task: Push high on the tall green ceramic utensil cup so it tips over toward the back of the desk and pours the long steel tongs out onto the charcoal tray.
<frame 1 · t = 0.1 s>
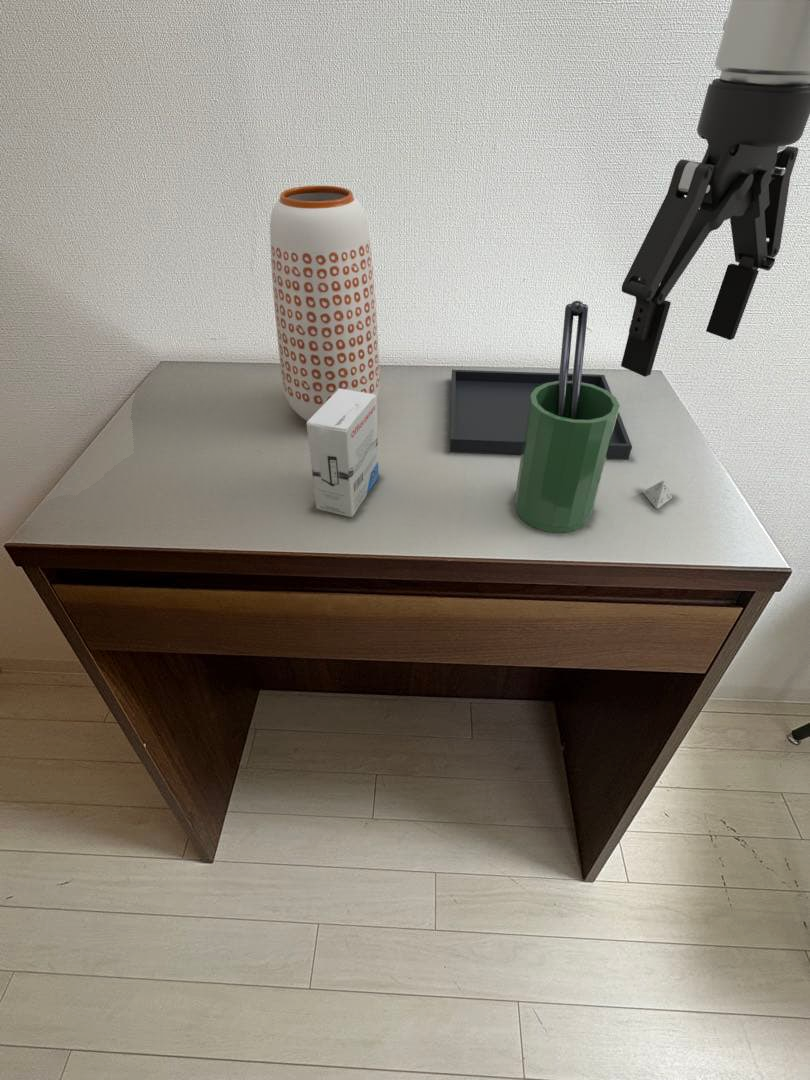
hand: (679, 352, 59), 19 cm above the table, tool pointing down, fingers open, 13 cm apart
tray: (531, 416, 88), on the table
cup: (552, 508, 72), on the table, touching tongs
ink box: (348, 495, 74), on the table
tetrahedral die: (656, 503, 73), on the table
vase: (334, 414, 89), on the table
tongs: (566, 417, 66), point 11 cm above the table, touching cup
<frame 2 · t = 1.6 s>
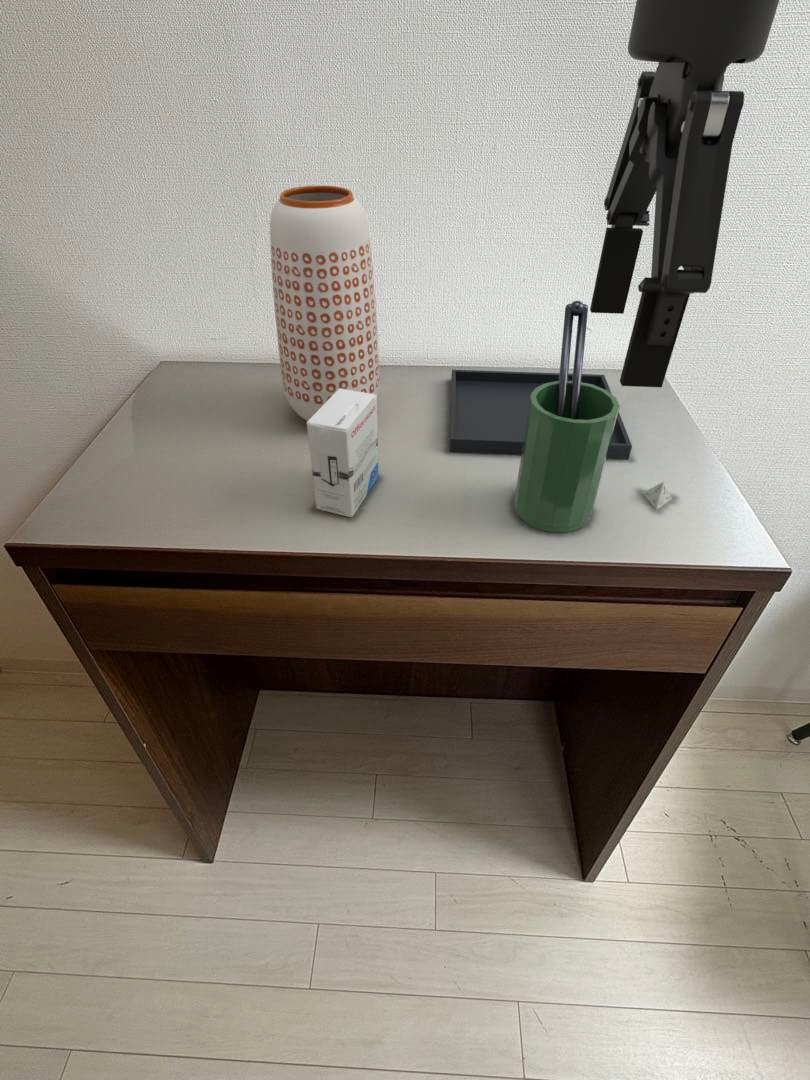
hand: (621, 344, 48), 25 cm above the table, tool pointing down, fingers open, 13 cm apart
nothing on the table moved.
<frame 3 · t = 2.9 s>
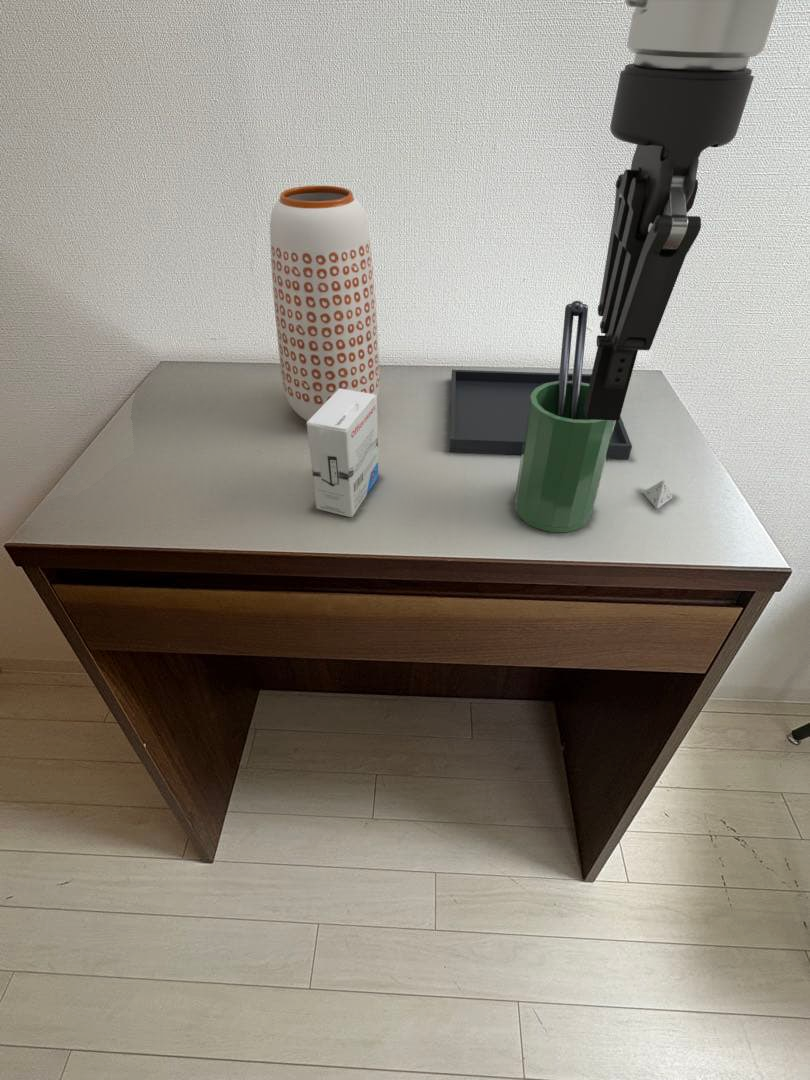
hand: (601, 415, 52), 18 cm above the table, tool pointing down, fingers closed
nothing on the table moved.
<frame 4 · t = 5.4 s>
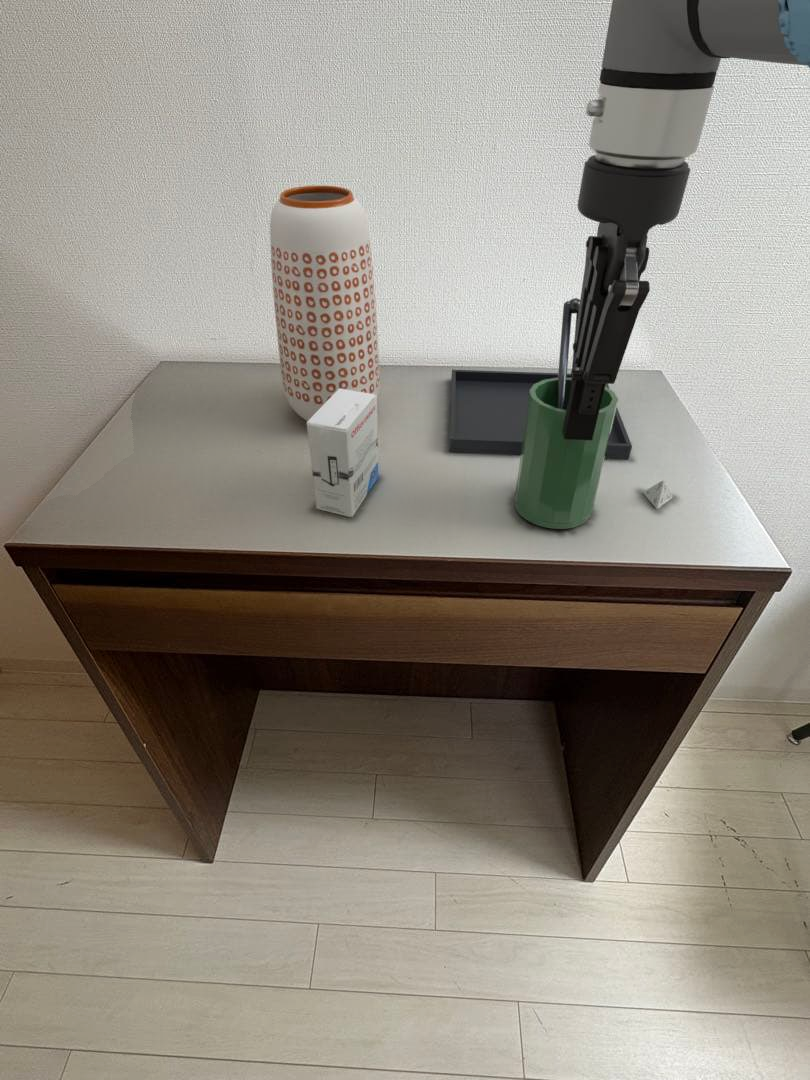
hand: (577, 435, 61), 13 cm above the table, tool pointing down, fingers closed
cup: (552, 506, 72), on the table, touching gripper, tongs
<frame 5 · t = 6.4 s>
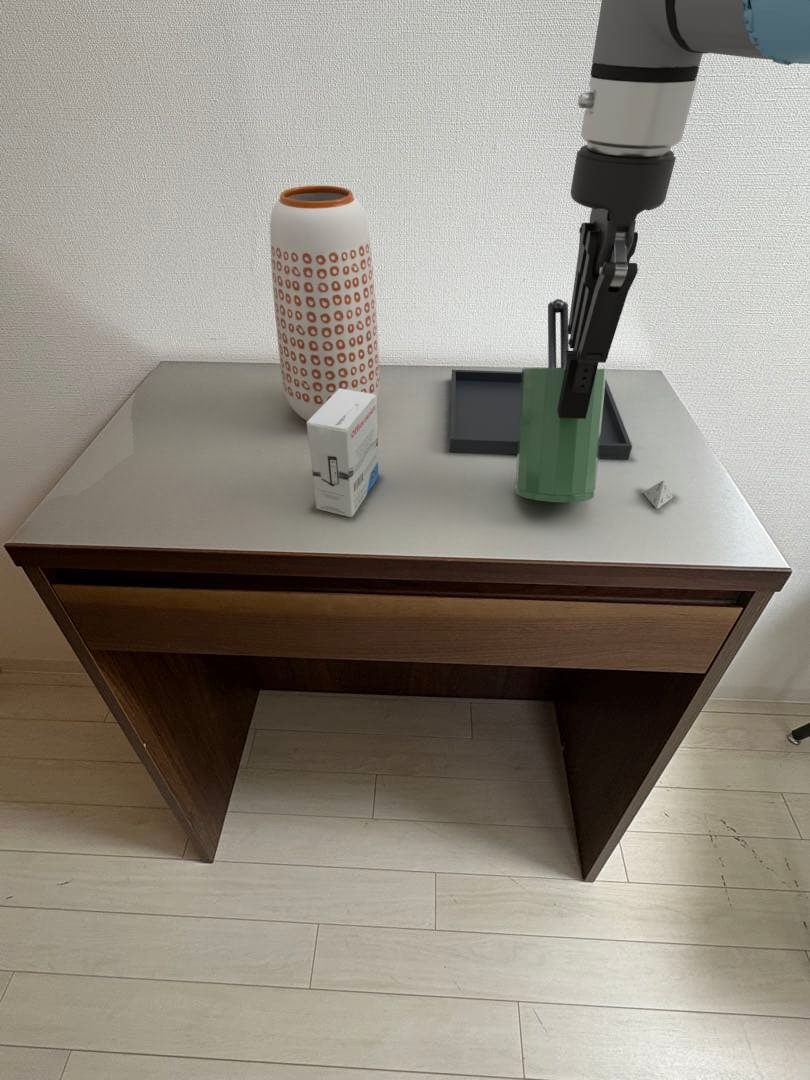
hand: (571, 414, 64), 13 cm above the table, tool pointing down, fingers closed
cup: (554, 493, 71), point 2 cm above the table, tilted 25°, touching tongs
tongs: (558, 394, 70), point 11 cm above the table, tilted 24°, touching cup
everything else where it was.
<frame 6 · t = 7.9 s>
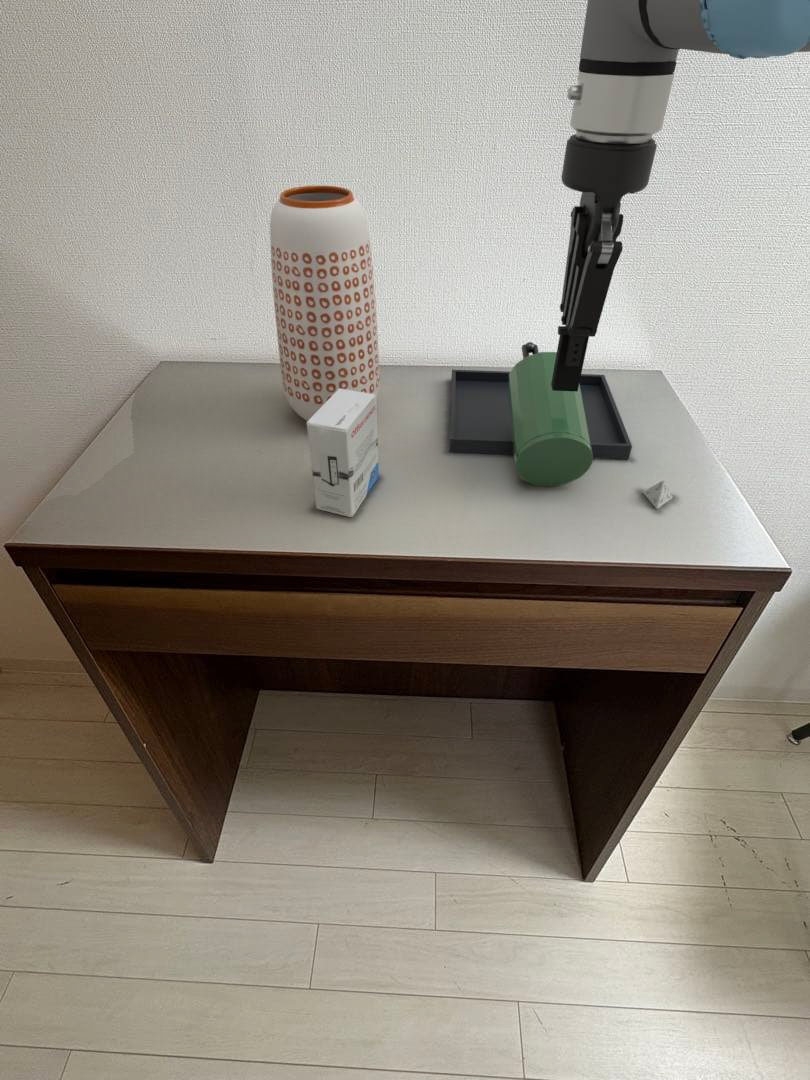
hand: (564, 387, 68), 13 cm above the table, tool pointing down, fingers closed
cup: (553, 463, 72), point 4 cm above the table, tilted 74°, touching tongs, tray
tongs: (538, 400, 82), point 5 cm above the table, tilted 49°, touching cup
everything else where it was.
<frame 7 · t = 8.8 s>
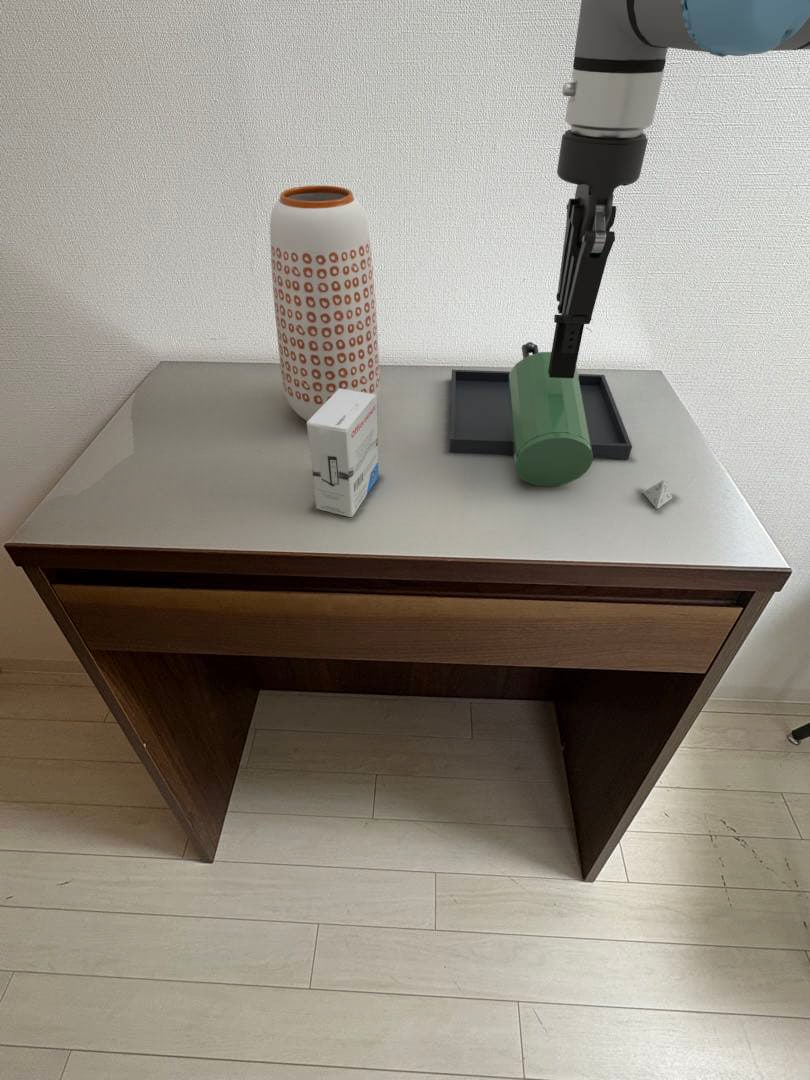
hand: (560, 374, 71), 12 cm above the table, tool pointing down, fingers closed
nothing on the table moved.
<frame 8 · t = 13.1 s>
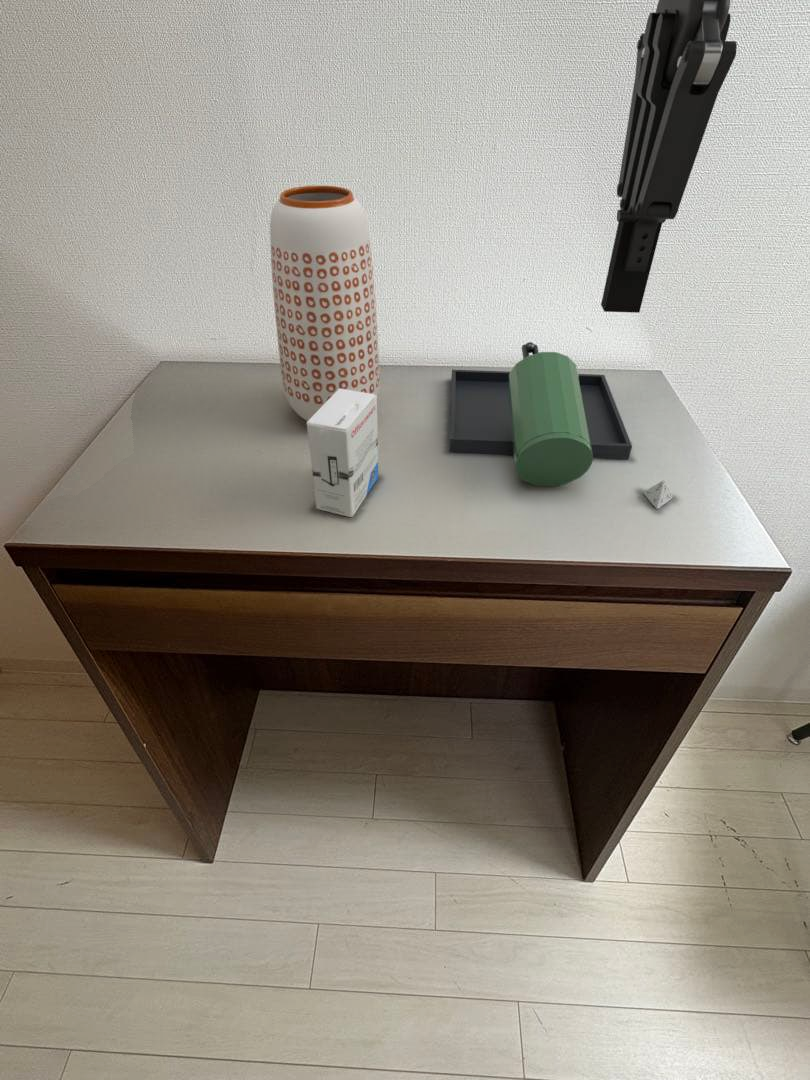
hand: (620, 308, 49), 26 cm above the table, tool pointing down, fingers closed
nothing on the table moved.
at the end: cup tilted 74°; tongs inside the target area on the tray (4.3 cm from its centre), point 4.8 cm above the tray's base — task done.
